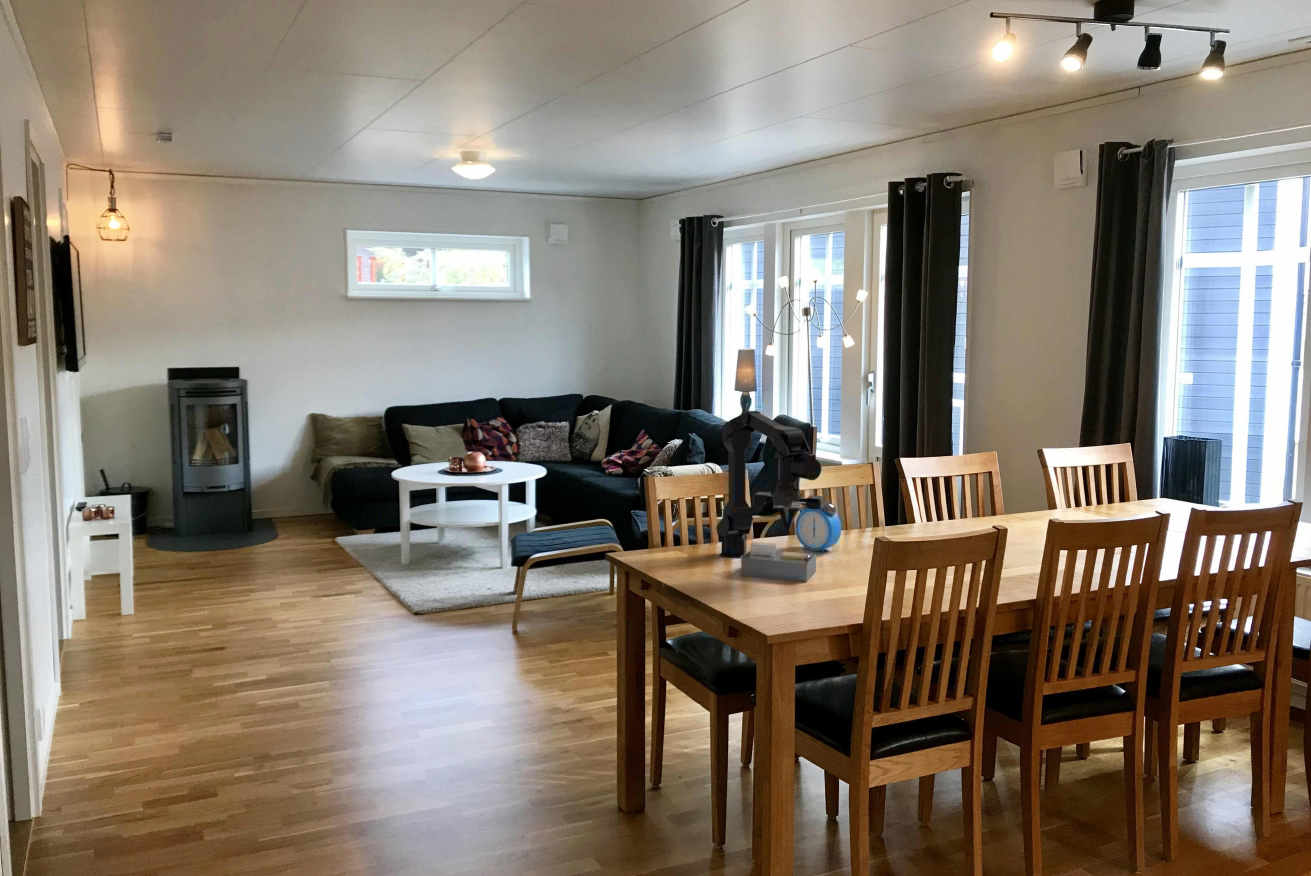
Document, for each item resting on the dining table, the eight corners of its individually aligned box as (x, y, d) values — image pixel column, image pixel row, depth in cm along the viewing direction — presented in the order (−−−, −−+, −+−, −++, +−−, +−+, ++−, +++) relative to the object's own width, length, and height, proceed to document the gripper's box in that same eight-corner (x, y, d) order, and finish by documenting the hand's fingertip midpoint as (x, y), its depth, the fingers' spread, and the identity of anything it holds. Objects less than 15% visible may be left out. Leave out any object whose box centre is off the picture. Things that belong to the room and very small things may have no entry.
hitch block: (741, 575, 281) (741, 557, 280) (752, 565, 292) (753, 548, 292) (806, 582, 275) (807, 563, 274) (815, 571, 286) (816, 554, 285)
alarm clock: (793, 548, 315) (794, 499, 313) (805, 544, 319) (806, 496, 318) (830, 554, 306) (831, 505, 304) (841, 551, 311) (843, 502, 309)
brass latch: (780, 558, 281) (780, 554, 280) (784, 554, 285) (784, 551, 285) (808, 560, 278) (808, 556, 278) (811, 556, 282) (811, 553, 282)
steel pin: (750, 570, 285) (750, 544, 284) (752, 568, 288) (753, 541, 287) (772, 572, 283) (773, 545, 282) (775, 570, 285) (775, 543, 284)
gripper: (747, 477, 275) (746, 534, 277) (817, 481, 269) (815, 540, 271) (758, 471, 286) (757, 526, 288) (825, 475, 279) (823, 532, 281)
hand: (787, 531), depth 282 cm, fingers closed
